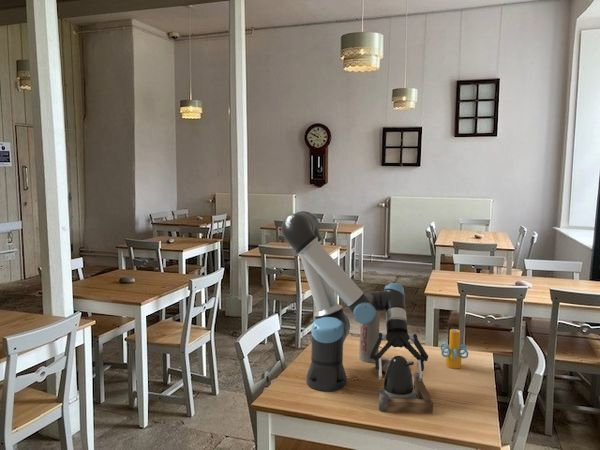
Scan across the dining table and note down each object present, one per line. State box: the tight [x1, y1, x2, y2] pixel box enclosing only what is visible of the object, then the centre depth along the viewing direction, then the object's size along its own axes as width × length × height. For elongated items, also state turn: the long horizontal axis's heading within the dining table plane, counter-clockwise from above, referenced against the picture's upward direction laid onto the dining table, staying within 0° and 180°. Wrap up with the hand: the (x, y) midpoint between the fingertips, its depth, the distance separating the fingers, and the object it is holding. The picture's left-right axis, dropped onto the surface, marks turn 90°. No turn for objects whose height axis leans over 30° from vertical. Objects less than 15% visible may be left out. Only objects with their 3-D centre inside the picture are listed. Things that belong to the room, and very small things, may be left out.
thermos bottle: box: [358, 311, 381, 363], centre depth 209 cm, size 8×8×28 cm
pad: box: [377, 389, 418, 399], centre depth 173 cm, size 13×13×1 cm
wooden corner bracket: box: [378, 372, 434, 414], centre depth 174 cm, size 18×21×5 cm
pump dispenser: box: [382, 355, 415, 399], centre depth 172 cm, size 10×10×15 cm
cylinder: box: [440, 328, 469, 370], centre depth 203 cm, size 12×10×15 cm
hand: (400, 378), depth 171 cm, fingers open, 13 cm apart
